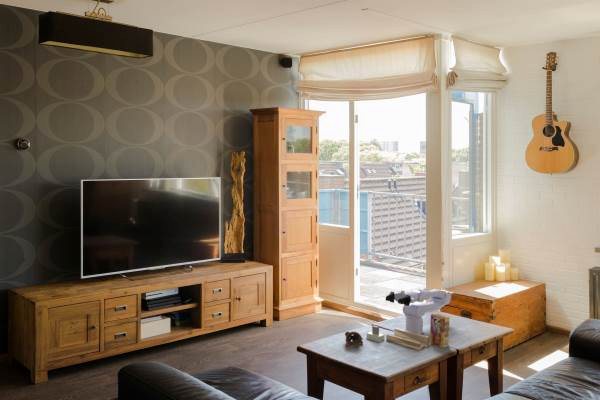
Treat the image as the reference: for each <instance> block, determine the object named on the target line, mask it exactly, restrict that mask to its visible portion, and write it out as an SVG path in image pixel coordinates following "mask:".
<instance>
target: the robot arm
mask: <svg viewBox="0 0 600 400" xmlns="http://www.w3.org/2000/svg"><path fill="white" fill-rule="evenodd" d="M451 299H452V294H451V292H450V291H446V290H441V289H437V288H433V289H431V290H429V289H428V288H425V287H424V288H423V289H421V288H420V289H418V290H416V289H411V290H410V291H405V290H400V292H398V293H397V292H396V293H395V292H394V291H390V292H389V294H388V295H386V296H385V301H386V302H390V303H393V304H394V303H395V301H396V302H397V303H398V304H399V305H403V307H402V313H403V314H404V317H405V330H406V331H410V332H413V333H417V334H421V335H423V334H425V331H424V320H423V317H422V316H425V314H426V313H430V312H436V311H439V310H441V309H442V308H443V307H444V306H446V305H449V304H450V302H451ZM427 300H429V302H424V301H427ZM416 302H418V303H417V304H414V303H416Z"/></svg>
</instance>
